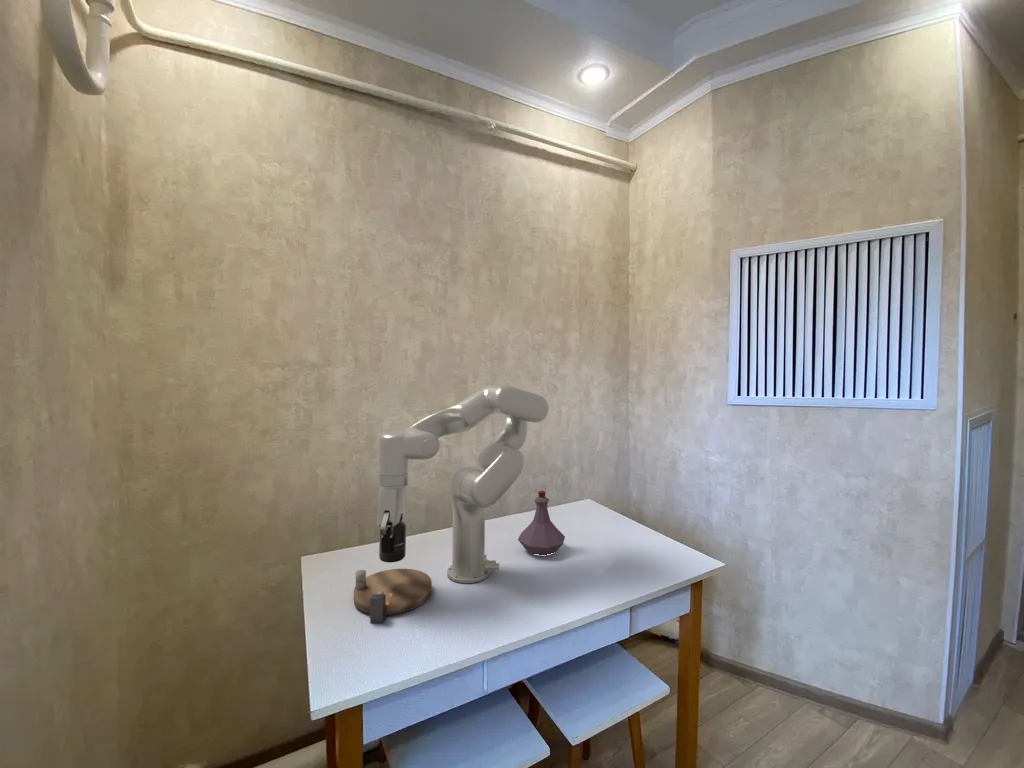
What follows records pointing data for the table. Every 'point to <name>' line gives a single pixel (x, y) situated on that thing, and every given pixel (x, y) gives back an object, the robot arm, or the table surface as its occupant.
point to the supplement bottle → (399, 543)
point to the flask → (541, 531)
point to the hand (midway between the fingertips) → (392, 545)
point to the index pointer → (378, 608)
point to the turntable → (393, 589)
